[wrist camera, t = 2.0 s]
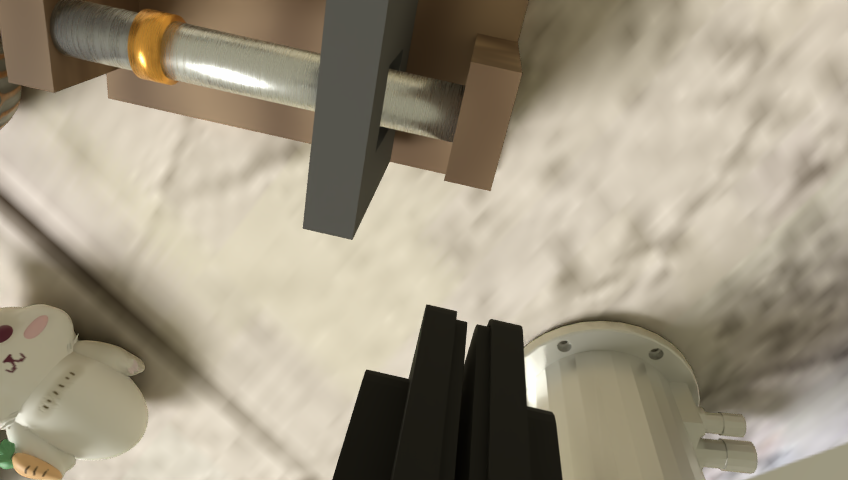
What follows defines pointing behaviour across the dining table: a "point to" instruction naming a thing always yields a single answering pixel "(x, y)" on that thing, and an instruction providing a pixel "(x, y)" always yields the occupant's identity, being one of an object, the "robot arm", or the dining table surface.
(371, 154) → the collar
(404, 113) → the pipe
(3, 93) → the vase
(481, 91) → the stand
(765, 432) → the dining table surface
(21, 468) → the cat figurine
